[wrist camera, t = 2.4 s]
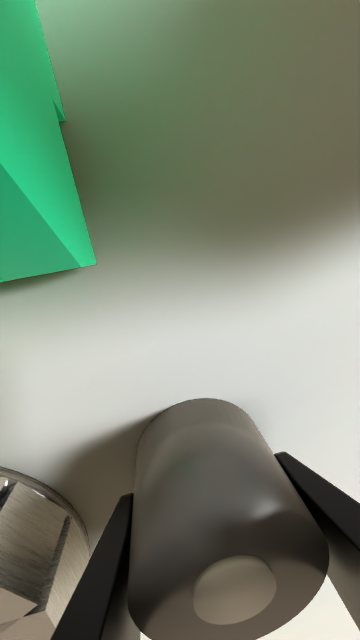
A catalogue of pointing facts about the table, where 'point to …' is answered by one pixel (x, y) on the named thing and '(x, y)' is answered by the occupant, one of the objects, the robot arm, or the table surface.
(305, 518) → the cap
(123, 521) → the robot arm
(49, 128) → the camera mount
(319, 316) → the table surface
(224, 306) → the table surface
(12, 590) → the grey piece
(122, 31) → the table surface
